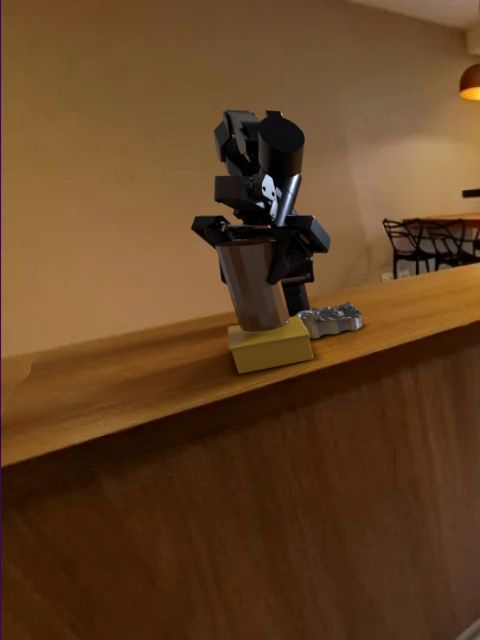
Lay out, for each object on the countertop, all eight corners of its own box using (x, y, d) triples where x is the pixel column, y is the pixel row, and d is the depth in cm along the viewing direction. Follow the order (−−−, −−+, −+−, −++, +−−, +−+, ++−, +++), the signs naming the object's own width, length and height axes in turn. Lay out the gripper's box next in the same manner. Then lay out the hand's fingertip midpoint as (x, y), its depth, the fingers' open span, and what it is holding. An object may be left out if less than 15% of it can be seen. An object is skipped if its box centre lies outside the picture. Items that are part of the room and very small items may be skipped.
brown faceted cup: (239, 322, 68) (215, 242, 62) (287, 315, 71) (268, 238, 66) (241, 335, 63) (215, 248, 57) (293, 326, 66) (272, 243, 60)
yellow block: (235, 350, 71) (227, 326, 69) (304, 338, 76) (298, 315, 74) (237, 374, 62) (228, 348, 60) (315, 359, 67) (309, 334, 65)
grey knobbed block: (303, 341, 74) (298, 318, 72) (295, 330, 80) (290, 308, 78) (366, 329, 79) (362, 307, 78) (354, 319, 85) (350, 298, 83)
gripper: (178, 154, 61) (138, 248, 56) (302, 151, 59) (273, 249, 54) (233, 209, 72) (204, 293, 67) (341, 209, 69) (319, 295, 64)
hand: (247, 283), depth 63 cm, fingers closed on brown faceted cup, 7 cm apart
